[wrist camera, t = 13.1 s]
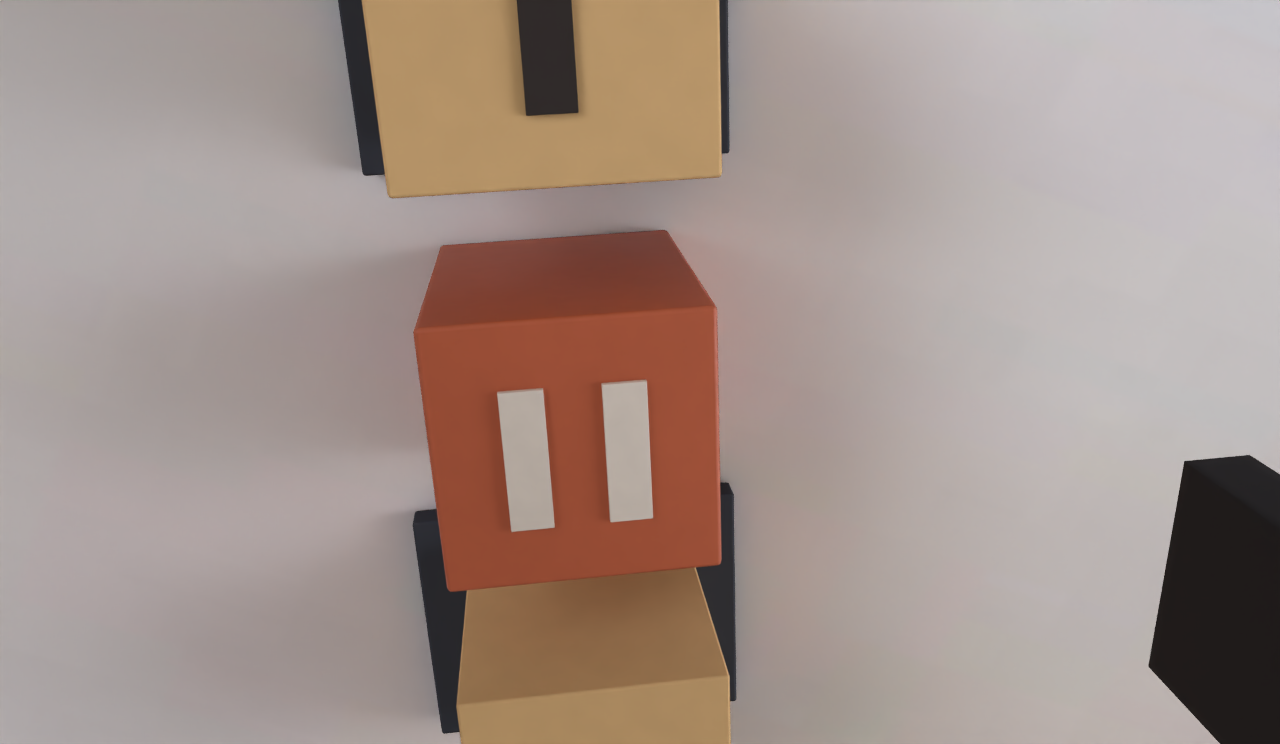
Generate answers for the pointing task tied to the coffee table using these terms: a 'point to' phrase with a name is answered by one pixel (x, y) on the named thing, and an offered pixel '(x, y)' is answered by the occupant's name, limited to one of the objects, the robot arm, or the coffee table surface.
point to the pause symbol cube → (570, 409)
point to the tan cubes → (536, 159)
